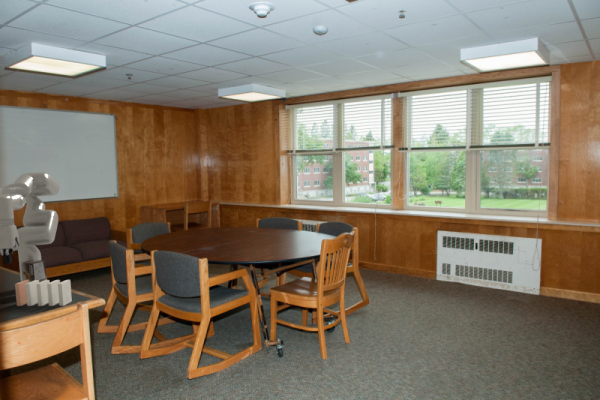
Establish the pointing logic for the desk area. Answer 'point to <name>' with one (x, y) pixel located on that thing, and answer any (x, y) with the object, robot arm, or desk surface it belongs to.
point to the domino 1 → (21, 292)
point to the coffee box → (34, 270)
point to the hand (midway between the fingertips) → (7, 263)
